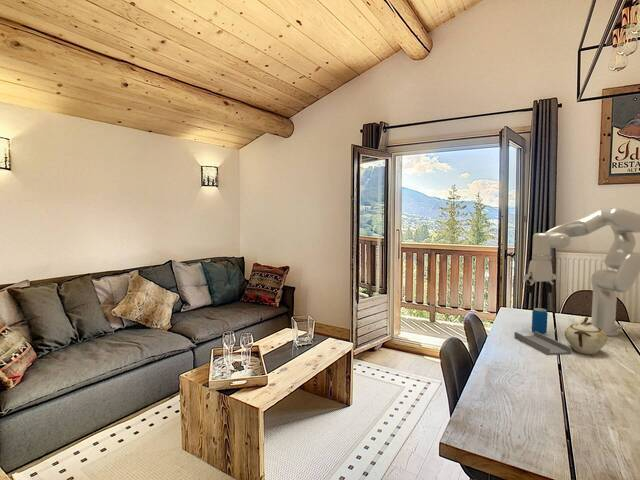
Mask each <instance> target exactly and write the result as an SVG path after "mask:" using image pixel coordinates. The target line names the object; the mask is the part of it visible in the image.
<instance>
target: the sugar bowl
mask: <svg viewBox="0 0 640 480" xmlns="http://www.w3.org/2000/svg"><path fill="white" fill-rule="evenodd" d="M588 320H589V317H588V316H586V317H585V318H584V319H583V321H582V322H578V323H572V324H570V325H569V326H568V327H566V329H565V331H564V337H565V339H566V341H567V343H568V344H569V346H570V347H572V350H574V351H576V352H578V353H581V354H584V355H585V354H586V355H595V354H597V353H598V352H599V351H600V350H601V349H603V347H605V345H606V344H607V342H608V338H607V337H608V336H606V334H605V333H604V332H603V331H602V330H601V329H600V328H598V327H596V326H593V325H592V323H591V322H590V321H589V322H588Z"/></svg>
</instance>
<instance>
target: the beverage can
mask: <svg viewBox="0 0 640 480" xmlns="http://www.w3.org/2000/svg"><path fill="white" fill-rule="evenodd" d="M548 315H549V314H548V310H547V309H545V308H541V307H540V308H539V307H538V308H537V307H534V308H533V310H532V316H531V332H532V333H533V334H534V331H536V332H539V333H541V334H543V335H546V334H547V333H548Z"/></svg>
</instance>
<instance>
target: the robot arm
mask: <svg viewBox="0 0 640 480" xmlns="http://www.w3.org/2000/svg"><path fill="white" fill-rule="evenodd" d="M605 226H606V227H607V226H610V229H612V232H613V235H614V239H613V242H612V244H611V246H610V248H609V250H608V251H607V254H606V256H605V258H604V265H605V266H606V267H607V268H608V269H604V268H603V269H601V268H600V269H597V270H595V271H593V273H592V274H591V278H590V281H591V286H592V287H591V288H592V304H591V322H590V323H592V325H593V326H596V327H598V328H600V329H601V330H602V331H603V332H604V333H605V334H606V336H607V337H609V336H610V337H617V336H618V335H619V331H618V330H620V329H624V325H623V324H616V314H617V301H618V300H617V294H616V293H626V292H629V290H630V289H632V287H633V286H634V283H636V280H637V278H638V276H639V274H640V254H639V253H636V252H634V249H635V246H636V238H635V235H634V233H635V234H636V233H640V213H637V212H634V211H631V210H627V209H624V208H619V207H602V208H599V209H596V210H594V211H591V212H590V213H588V214H586V215H583V216H582V217H580V218H578V219H576V220H573V221H569V222H567V223H564V224H561V225H557V226H555V227H553V228H551V229H549V230H547V231H545V232H535V233H534V234H533V235H532V255H531V260H530V261H529V265H528V269H527V273H526V274H524V275H523V276H522V277H523V278H522V279H523V280H524V282H525V283H526V285H527V293H529V294H531V295H533V294H534V288H535V287H534V284H535V282H546V284H545V292H546V293H549V294H553V285H554V284H555V282H556V281H557V278H558V275H556V274H555V273H553V266H552V261H551V259H552V258H553V256H552V255H551V248H553V249H564V248H567V247H568V246H569V245H570V244H571V238H576V237H583V236H588V235H590V234H592V233H593V232H596V231H598V230H600V229H601V228H604V227H605ZM610 269H613V270H610ZM615 270H616V271H615Z"/></svg>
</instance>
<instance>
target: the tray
mask: <svg viewBox="0 0 640 480" xmlns="http://www.w3.org/2000/svg"><path fill="white" fill-rule="evenodd" d="M514 339H515V340H516V339H517V340H518V341H520V342H522V343H523V344H526V345H527V346H529V347H532V348H533V349H534V350H537V351H539V352H541V353H543V354H544V355H546V356H555V355H557V356H558V355H572V351H573V348H572V346H570V345H568V344H564V343H562V342H561V341H558V340H556V339H554V338H551V337H549V336H547V335H546V334H544V335H543V334H541V333H539V332H536V331H534V333H533V334H532V335H523V334H521V333H520V332H518V331H514Z"/></svg>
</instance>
